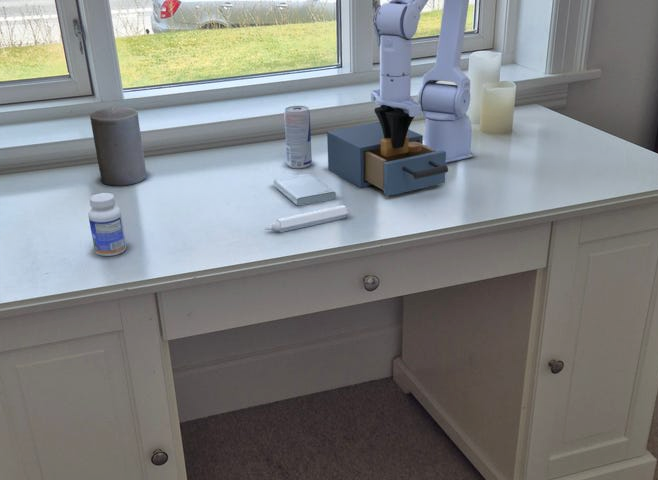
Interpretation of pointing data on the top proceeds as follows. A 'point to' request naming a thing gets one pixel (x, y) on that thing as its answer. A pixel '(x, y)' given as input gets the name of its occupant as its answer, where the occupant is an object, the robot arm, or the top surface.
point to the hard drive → (304, 189)
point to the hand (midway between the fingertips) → (394, 145)
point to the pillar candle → (118, 146)
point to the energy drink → (298, 136)
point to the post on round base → (408, 147)
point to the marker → (309, 219)
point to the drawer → (405, 170)
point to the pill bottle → (106, 225)
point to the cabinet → (356, 150)
